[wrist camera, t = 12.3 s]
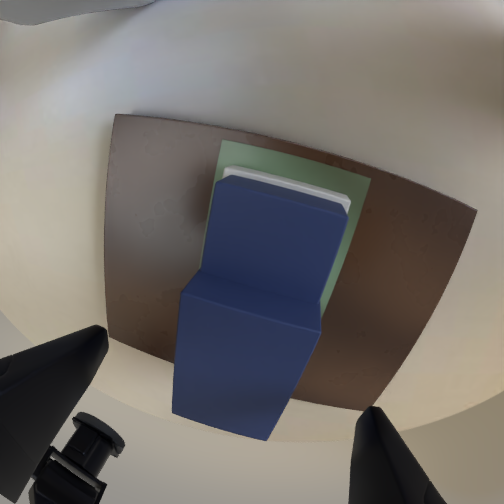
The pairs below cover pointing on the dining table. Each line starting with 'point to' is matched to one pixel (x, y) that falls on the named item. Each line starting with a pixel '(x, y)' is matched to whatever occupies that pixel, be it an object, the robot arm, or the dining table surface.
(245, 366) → the blue stepped block
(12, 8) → the vase
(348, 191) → the brown flat slab
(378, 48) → the dining table surface
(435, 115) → the dining table surface
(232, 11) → the dining table surface
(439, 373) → the dining table surface
